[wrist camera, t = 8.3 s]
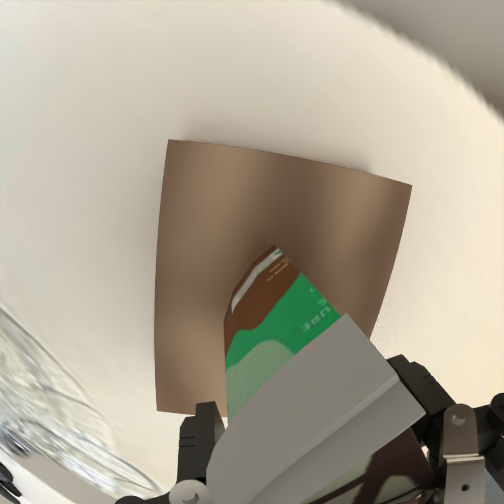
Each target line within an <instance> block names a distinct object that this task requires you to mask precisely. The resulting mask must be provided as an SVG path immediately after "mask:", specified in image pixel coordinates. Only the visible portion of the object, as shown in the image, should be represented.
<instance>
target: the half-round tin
mask: <svg viewBox="0 0 504 504" xmlns="http://www.w3.org/2000/svg"><path fill="white" fill-rule="evenodd" d="M223 322H224V351H225V375H226V396H227V415H228V427H227V428H226V430H225V432H224V433H223V435H222V436H221V438H220V439H219V441H218V442H217V444H216V445H215V447H214V449H213V452H212V455H211V458H210V461H209V464H208V467H207V469H206V487H207V490H208V492H209V495H210V497H211V500H212V502H213V504H418V501H419V498H420V496H421V493H422V491H423V490H424V489H425V488H426V487H427V486H428V485H430V484H431V483H432V482H433V481H434V479H435V474H434V472H433V471H432V469H431V467H430V465H429V463H428V461H427V459H426V457H425V455H424V453H423V451H422V449H421V447H420V444H419V442H418V440H417V438H416V436H415V434H414V432H413V430H412V428H411V425H412V424H414V423H415V422H416V421H417V420H419V419H420V418H421V417H422V416H424V415H425V414H426V412H425V410H424V409H423V408H422V407H421V406H420V404H419V403H418V402H417V401H416V399H415V398H414V397H413V396H412V395H411V393H410V392H409V391H408V390H407V389H406V387H405V386H404V385H403V384H402V383H401V381H400V380H399V377H398V375H397V373H396V372H395V371H394V369H393V368H392V367H391V366H390V364H389V363H388V362H387V361H386V360H385V358H384V357H383V356H382V355H381V353H380V352H379V351H378V350H377V349H376V347H375V346H374V345H373V344H372V343H371V341H370V340H369V339H368V338H367V336H366V335H365V334H364V333H363V332H362V330H361V329H360V328H359V327H358V326H357V325H356V323H355V322H354V321H353V320H352V319H351V317H350V316H349V315H348V314H347V313H346V314H344V315H343V316H341V315H340V314H339V313H338V312H337V311H336V310H335V308H334V307H333V306H332V305H331V304H330V303H329V302H328V301H327V300H326V299H325V298H324V297H323V295H322V294H321V293H320V292H319V291H318V290H317V289H316V288H315V287H314V286H313V285H312V284H311V283H310V281H309V280H308V279H307V278H306V277H305V276H304V275H303V274H302V273H301V272H300V271H299V270H298V269H297V268H296V266H295V265H294V264H293V263H292V262H291V261H290V260H289V259H288V258H287V257H286V256H285V255H284V254H283V253H282V252H281V251H280V249H279V248H278V247H277V246H276V245H275V244H274V245H273V246H271V247H270V248H269V249H268V250H267V251H265V252H264V253H263V254H262V255H261V256H260V257H258V258H257V259H256V260H255V261H254V262H253V263H252V264H251V266H250V267H249V268H248V270H247V271H246V273H245V274H244V276H243V277H242V278H241V280H240V281H239V283H238V284H237V286H236V287H235V288H234V290H233V291H232V295H231V298H230V301H229V305H228V308H227V311H226V314H225V318H224V321H223Z"/></svg>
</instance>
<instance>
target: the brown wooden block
mask: <svg viewBox="0 0 504 504" xmlns="http://www.w3.org/2000/svg"><path fill="white" fill-rule="evenodd" d="M411 190H412V185H409V184H406V183H402V182H399V181H395V180H392V179H388V178H385V177H381V176H377V175H373V174H369V173H365V172H361V171H357V170H353V169H349V168H345V167H340V166H336V165H331V164H327V163H322V162H318V161H313V160H308V159H303V158H298V157H292V156H287V155H282V154H276V153H270V152H264V151H258V150H252V149H245V148H238V147H231V146H224V145H216V144H208V143H199V142H190V141H180V140H169V139H168V146H167V153H166V160H165V168H164V176H163V185H162V195H161V205H160V216H159V228H158V241H157V257H156V278H155V317H154V346H155V384H156V404H157V411H162V412H171V413H180V414H190V415H195V413H196V403H202V402H210V401H215V402H216V405H217V408H218V410H219V413H220V416H221V417H228V415H227V396H226V375H225V351H224V322H223V321H224V318H225V314H226V311H227V308H228V305H229V301H230V298H231V295H232V291H233V290H234V288H235V287H236V286H237V284H238V283H239V281H240V280H241V278H242V277H243V276H244V274H245V273H246V271H247V270H248V268H249V267H250V266H251V264H252V263H253V262H254V261H255V260H256V259H257V258H258V257H260V256H261V255H262V254H263V253H264V252H265V251H267V250H268V249H269V248H270V247H271V246H273V245H274V244H275V245H276V246H277V247H278V248H279V249H280V251H281V252H282V253H283V254H284V255H285V256H286V257H287V258H288V259H289V260H290V261H291V262H292V263H293V264H294V265H295V266H296V268H297V269H298V270H299V271H300V272H301V273H302V274H303V275H304V276H305V277H306V278H307V279H308V280H309V281H310V283H311V284H312V285H313V286H314V287H315V288H316V289H317V290H318V291H319V292H320V293H321V294H322V295H323V297H324V298H325V299H326V300H327V301H328V302H329V303H330V304H331V305H332V306H333V307H334V308H335V310H336V311H337V312H338V313H339V314H340V315H341V316H343V315H344V314H346V313H347V314H348V315H349V316H350V317H351V319H352V320H353V321H354V322H355V323H356V325H357V326H358V327H359V328H360V329H361V330H362V332H363V333H364V334H365V335H366V336H367V338H368V339H370V336H371V333H372V331H373V328H374V325H375V322H376V320H377V317H378V314H379V311H380V308H381V305H382V302H383V299H384V296H385V292H386V289H387V286H388V283H389V279H390V276H391V273H392V269H393V266H394V262H395V258H396V255H397V251H398V247H399V243H400V239H401V235H402V231H403V227H404V223H405V218H406V214H407V209H408V205H409V200H410V195H411Z"/></svg>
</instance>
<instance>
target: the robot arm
mask: <svg viewBox="0 0 504 504" xmlns="http://www.w3.org/2000/svg"><path fill="white" fill-rule="evenodd" d="M386 361H387V362H388V363H389V364H390V366H391V367H392V368H393V369H394V371H395V372H396V373H397V375H398V377H399V380H400V381H401V383H402V384H403V385H404V386H405V387H406V389H407V390H408V391H409V392H410V393H411V395H412V396H413V397H414V398H415V399H416V401H417V402H418V403H419V404H420V406H421V407H422V408H423V409H424V410H425V412H426V414H425V415H424V416H422V417H421V418H420V419H419V420H417V421H416V422H415V423H414V424H412V425H411V428H412V430H413V432H414V434H415V436H416V438H417V440H418V442H419V444H420V447H423V446H425V445H426V446H427V448H428V452H427V457H426V459H427V461H428V463H429V465H430V467H431V469H432V471H433V472H434V474H435V479H434V481H433V482H432V483H431V484H430V485H428V486H427V487H426V488H425V489H424V490H423V491H422V493H421V496H420V498H419V501H418V504H484V503H485V468H486V469H487V471H488V472H489V473H490V475H491V476H492V477H493V478H494V480H495V481H496V482H497V483H498V485H499V486H500V488H501V489H502V490H503V491H504V438H503V437H502V436H504V393H499V394H497V395H495V396H494V397H493V399H492V401H491V403H490V404H489V405H485V406H481V407H477V408H471V407H470V406H468V405H466V404H456V403H455V402H454V400H453V399H452V398H451V397H450V396H449V395H448V393H447V392H446V391H445V390H444V389H443V388H442V386H441V385H440V384H439V383H438V382H436V380H435V378H434V377H433V376H431V374H430V373H429V372H428V370H427V369H426V368H425V367H424V366H422V365H420V364H418V363H416V362H411V363H410V362H409V361H408V360H407V359H406V358H405V357H404V356H403V355H402V354H400V355H397V356H395V357H392V358H389V359H386ZM224 432H225V428H224V424H223V421H222V418H221V416H220V413H219V410H218V408H217V405H216V402H215V401H210V402H202V403H196V413H195V416H191V417H186V418H185V419H184V421H183V423H182V425H181V426H180V435H179V438H180V440H179V452H178V471H177V481H176V484H175V485H174V486H173V488H172V489H171V491H169V492H168V493H166V494H164V495H162V496H159V497H155V498H151V499H148V500H143V499H141V498H139V497H137V496H125V497H122V498H120V499H119V500H117V501H116V503H115V504H213V502H212V500H211V497H210V495H209V492H208V490H207V487H206V469H207V467H208V464H209V461H210V458H211V455H212V452H213V449H214V447H215V445H216V444H217V442H218V441H219V439H220V438H221V436H222V435H223V433H224Z"/></svg>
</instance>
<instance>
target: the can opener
mask: <svg viewBox="0 0 504 504" xmlns="http://www.w3.org/2000/svg"><path fill="white" fill-rule="evenodd" d="M9 482H13V477H12V475H11V474H10V472H9V471H8V470H7V469H6V468H4V467H3V466H1V465H0V494H1V495H2V496H4V497H5V498H7V499H8V500H9V501H11V502H13V503H15V504H21V503H20V502H19V501H18V500H17V499H16V498H15V497H14V496H12V495H11V494H10V493H9V492H8V491H7V490H9V491H10V492H11V493H13V494H14V495H15V496H17V497H20V496H21V493H20V492H19V491H18V490H17V489H16V488H15V487H14V486H13V485H11V484H10V483H9ZM2 485H3V486H4V487H5V488H6V489H7V490H6V489H5V488H4V487H3V486H2Z"/></svg>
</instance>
